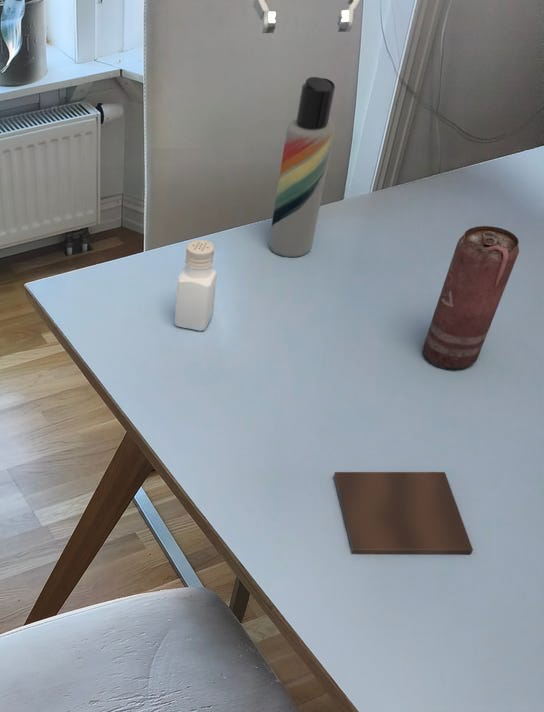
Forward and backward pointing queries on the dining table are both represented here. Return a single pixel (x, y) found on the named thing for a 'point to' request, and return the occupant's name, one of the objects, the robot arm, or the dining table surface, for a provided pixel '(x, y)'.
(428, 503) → the walnut board
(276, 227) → the lotion bottle
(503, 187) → the dining table surface
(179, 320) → the salt shaker
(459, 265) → the can
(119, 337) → the dining table surface
